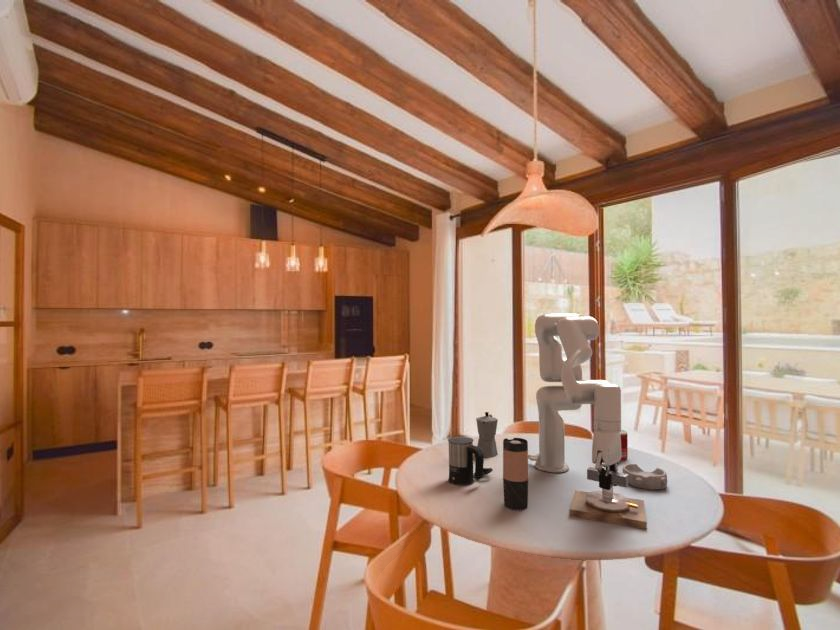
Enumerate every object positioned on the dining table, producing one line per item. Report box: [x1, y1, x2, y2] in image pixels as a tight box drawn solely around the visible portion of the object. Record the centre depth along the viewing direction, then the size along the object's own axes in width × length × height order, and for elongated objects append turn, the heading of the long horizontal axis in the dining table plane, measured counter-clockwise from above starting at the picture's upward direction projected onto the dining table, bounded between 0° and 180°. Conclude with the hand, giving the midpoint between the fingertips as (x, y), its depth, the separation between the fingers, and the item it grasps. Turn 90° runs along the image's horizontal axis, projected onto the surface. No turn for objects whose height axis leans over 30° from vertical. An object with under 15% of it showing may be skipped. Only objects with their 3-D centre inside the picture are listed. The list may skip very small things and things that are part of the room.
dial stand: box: [569, 489, 648, 530], centre depth 133 cm, size 20×16×2 cm
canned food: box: [620, 429, 629, 461], centre depth 185 cm, size 8×8×11 cm
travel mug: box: [502, 437, 529, 511], centre depth 137 cm, size 8×8×20 cm
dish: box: [622, 463, 668, 490], centre depth 156 cm, size 14×14×5 cm
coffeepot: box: [475, 411, 498, 458], centre depth 192 cm, size 15×9×18 cm, turn 159°
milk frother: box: [447, 436, 493, 486], centre depth 160 cm, size 14×16×15 cm
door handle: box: [586, 466, 638, 512], centre depth 132 cm, size 14×12×10 cm
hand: (608, 486), depth 133 cm, fingers closed on door handle, 3 cm apart
